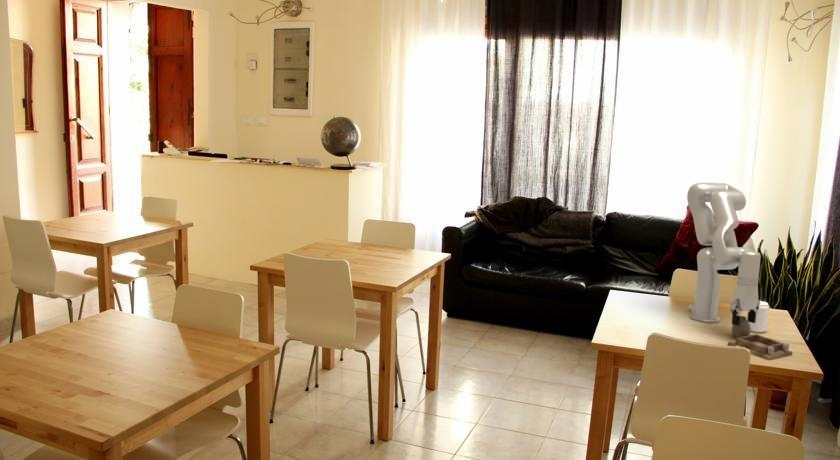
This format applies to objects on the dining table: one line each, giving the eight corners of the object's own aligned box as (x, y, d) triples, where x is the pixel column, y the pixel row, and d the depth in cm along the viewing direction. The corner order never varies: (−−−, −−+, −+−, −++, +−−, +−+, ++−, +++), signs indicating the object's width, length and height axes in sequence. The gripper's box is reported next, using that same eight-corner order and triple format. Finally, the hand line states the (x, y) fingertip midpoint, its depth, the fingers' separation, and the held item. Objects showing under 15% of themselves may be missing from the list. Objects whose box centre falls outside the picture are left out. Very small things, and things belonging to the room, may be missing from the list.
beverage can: (757, 334, 299) (760, 306, 297) (740, 328, 306) (743, 300, 304) (770, 332, 303) (773, 304, 301) (753, 326, 310) (756, 299, 308)
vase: (751, 341, 290) (753, 320, 288) (732, 339, 291) (735, 318, 290) (747, 335, 297) (749, 315, 295) (729, 334, 298) (731, 313, 296)
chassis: (727, 344, 284) (728, 334, 283) (750, 340, 291) (751, 330, 290) (768, 360, 269) (770, 349, 268) (792, 354, 276) (793, 344, 275)
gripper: (753, 278, 297) (749, 319, 299) (725, 281, 288) (721, 323, 291) (769, 282, 291) (765, 323, 293) (741, 285, 282) (737, 328, 284)
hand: (743, 323), depth 292 cm, fingers open, 9 cm apart
